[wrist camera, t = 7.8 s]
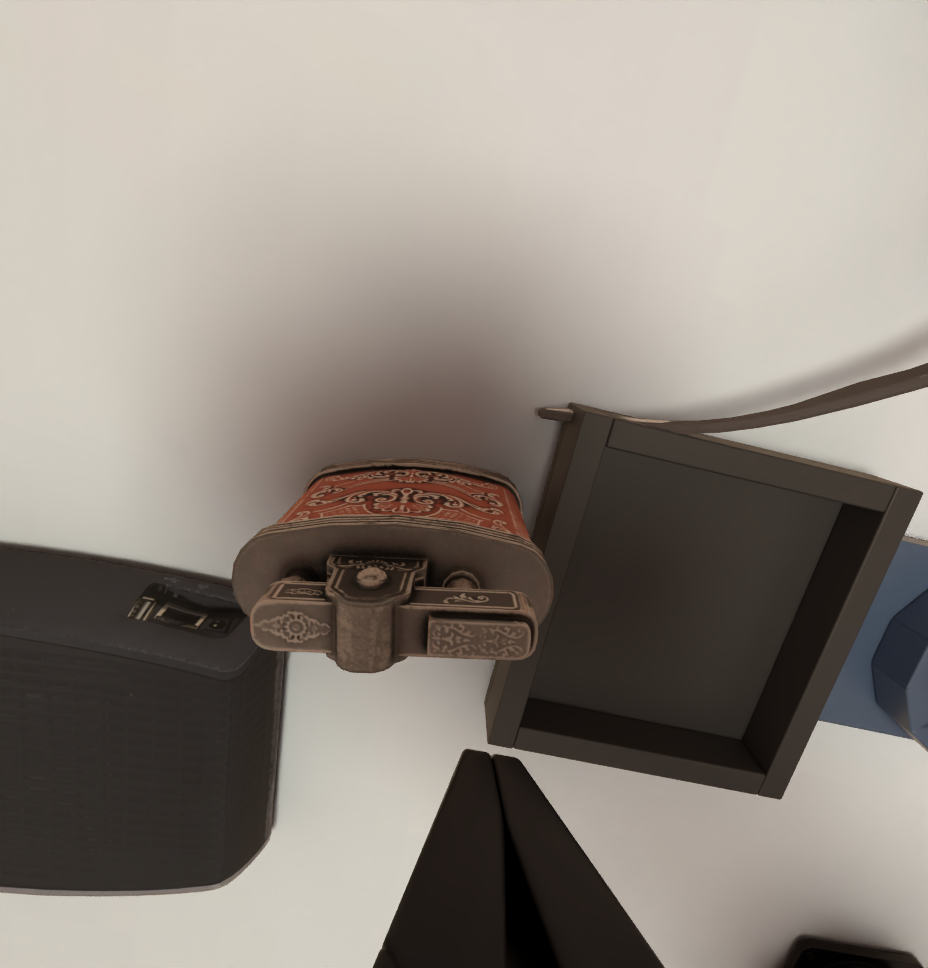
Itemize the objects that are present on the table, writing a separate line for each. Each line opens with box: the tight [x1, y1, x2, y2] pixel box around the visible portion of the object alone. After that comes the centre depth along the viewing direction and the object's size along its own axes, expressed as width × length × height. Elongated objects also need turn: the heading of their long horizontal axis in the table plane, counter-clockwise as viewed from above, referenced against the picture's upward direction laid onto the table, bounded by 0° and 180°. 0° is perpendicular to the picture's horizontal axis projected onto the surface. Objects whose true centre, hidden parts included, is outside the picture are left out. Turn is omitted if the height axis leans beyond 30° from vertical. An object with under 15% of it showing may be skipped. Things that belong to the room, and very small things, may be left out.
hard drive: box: [0, 548, 285, 896], centre depth 21 cm, size 13×19×4 cm
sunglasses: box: [538, 363, 928, 434], centre depth 17 cm, size 16×17×5 cm
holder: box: [484, 403, 923, 799], centre depth 21 cm, size 12×13×2 cm
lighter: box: [232, 458, 554, 673], centre depth 16 cm, size 8×3×10 cm, turn 87°
